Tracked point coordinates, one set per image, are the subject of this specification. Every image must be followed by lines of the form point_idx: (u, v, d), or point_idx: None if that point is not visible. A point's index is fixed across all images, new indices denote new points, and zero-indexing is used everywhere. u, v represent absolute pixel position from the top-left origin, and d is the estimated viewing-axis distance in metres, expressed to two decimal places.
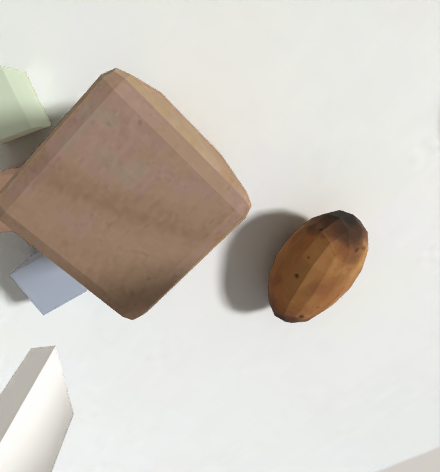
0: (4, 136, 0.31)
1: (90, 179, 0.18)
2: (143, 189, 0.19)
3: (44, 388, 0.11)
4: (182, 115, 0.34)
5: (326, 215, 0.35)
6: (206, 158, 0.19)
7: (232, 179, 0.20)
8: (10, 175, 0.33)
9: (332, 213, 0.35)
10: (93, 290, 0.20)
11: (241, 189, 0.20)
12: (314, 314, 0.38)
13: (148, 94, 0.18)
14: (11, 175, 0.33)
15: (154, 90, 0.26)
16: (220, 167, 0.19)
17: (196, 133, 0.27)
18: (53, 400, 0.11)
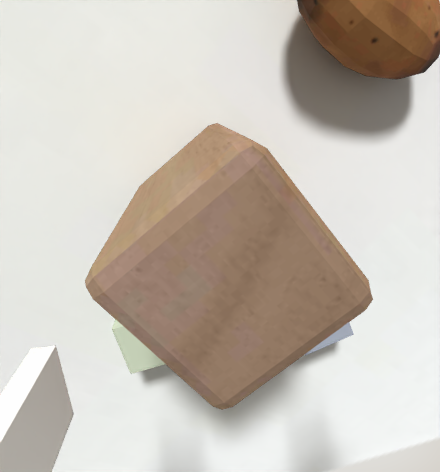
0: None
1: (198, 325, 0.17)
2: (214, 274, 0.16)
3: (43, 388, 0.11)
4: (162, 168, 0.32)
5: None
6: (184, 197, 0.15)
7: (214, 163, 0.15)
8: None
9: None
10: (326, 336, 0.18)
11: (228, 153, 0.15)
12: (439, 12, 0.26)
13: (111, 252, 0.16)
14: None
15: (127, 210, 0.25)
16: (197, 178, 0.15)
17: (174, 169, 0.24)
18: (53, 400, 0.11)
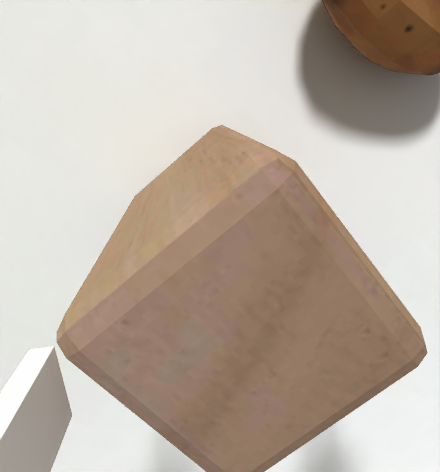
0: None
1: (203, 389, 0.13)
2: (224, 326, 0.12)
3: (42, 389, 0.11)
4: (160, 176, 0.28)
5: None
6: (186, 227, 0.11)
7: (226, 181, 0.12)
8: None
9: None
10: (367, 399, 0.14)
11: (244, 168, 0.11)
12: None
13: (89, 297, 0.12)
14: None
15: (117, 229, 0.21)
16: (204, 200, 0.12)
17: (173, 180, 0.20)
18: (51, 401, 0.11)
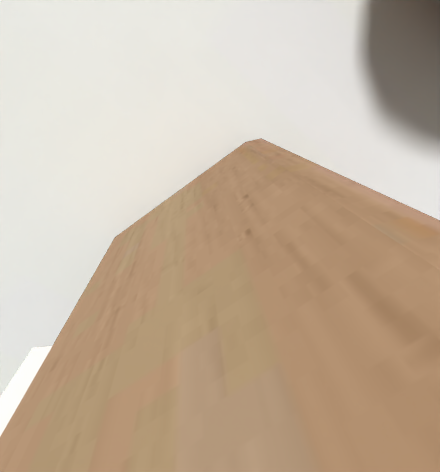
0: None
1: None
2: None
3: None
4: (156, 213, 0.17)
5: None
6: None
7: None
8: None
9: None
10: None
11: None
12: None
13: None
14: None
15: (59, 345, 0.10)
16: None
17: (181, 257, 0.10)
18: None
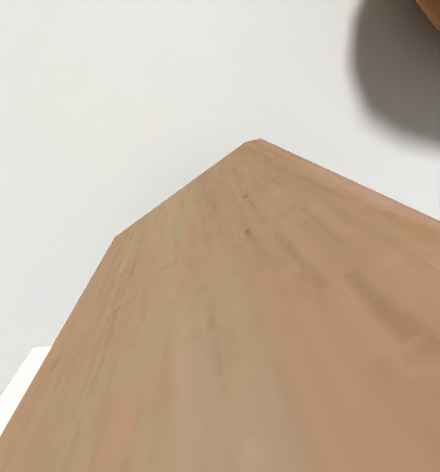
0: None
1: None
2: None
3: None
4: (156, 213, 0.17)
5: None
6: None
7: None
8: None
9: None
10: None
11: None
12: None
13: None
14: None
15: (59, 344, 0.10)
16: None
17: (181, 256, 0.10)
18: None
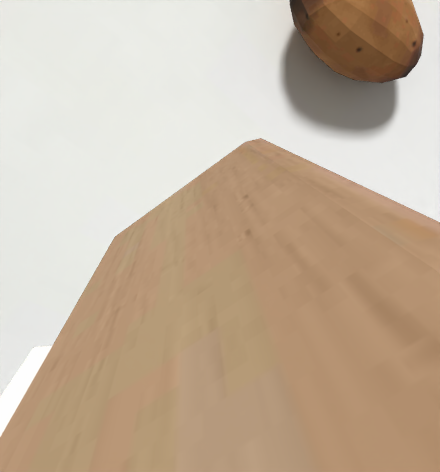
0: None
1: None
2: None
3: None
4: (156, 213, 0.17)
5: (292, 6, 0.30)
6: None
7: None
8: None
9: None
10: None
11: None
12: (416, 25, 0.30)
13: None
14: None
15: (59, 344, 0.10)
16: None
17: (181, 257, 0.10)
18: None
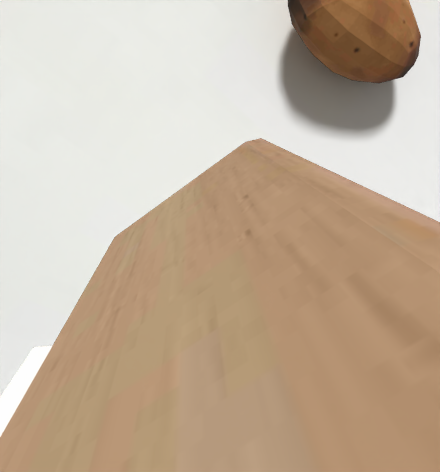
0: None
1: None
2: None
3: None
4: (156, 213, 0.17)
5: (290, 7, 0.30)
6: None
7: None
8: None
9: None
10: None
11: None
12: (413, 25, 0.31)
13: None
14: None
15: (59, 344, 0.10)
16: None
17: (181, 257, 0.10)
18: None
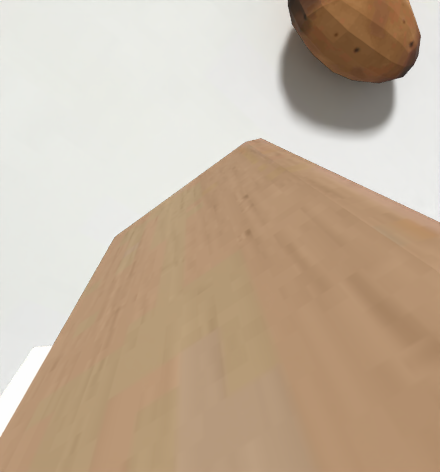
0: None
1: None
2: None
3: None
4: (156, 213, 0.17)
5: (290, 7, 0.30)
6: None
7: None
8: None
9: None
10: None
11: None
12: (413, 25, 0.31)
13: None
14: None
15: (59, 344, 0.10)
16: None
17: (181, 257, 0.10)
18: None
